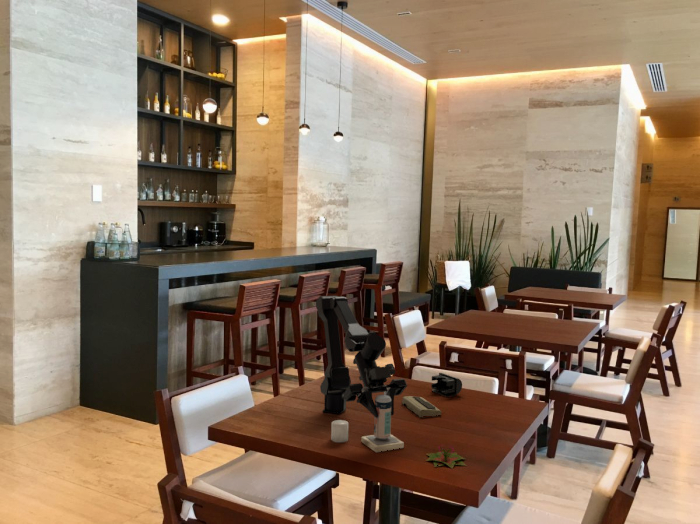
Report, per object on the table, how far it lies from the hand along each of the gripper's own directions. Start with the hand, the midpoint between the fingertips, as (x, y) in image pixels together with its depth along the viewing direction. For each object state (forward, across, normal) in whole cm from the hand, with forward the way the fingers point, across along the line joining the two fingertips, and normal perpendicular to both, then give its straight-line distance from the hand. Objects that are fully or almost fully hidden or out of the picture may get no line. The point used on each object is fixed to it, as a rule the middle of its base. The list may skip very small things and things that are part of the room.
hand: (384, 416), depth 174 cm
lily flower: (+18, +10, -4) cm, 21 cm away
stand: (+6, 0, +7) cm, 9 cm away
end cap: (-20, +48, +34) cm, 62 cm away
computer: (-11, +28, +24) cm, 39 cm away
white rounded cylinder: (-1, -10, +13) cm, 16 cm away
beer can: (+4, 0, +6) cm, 7 cm away
